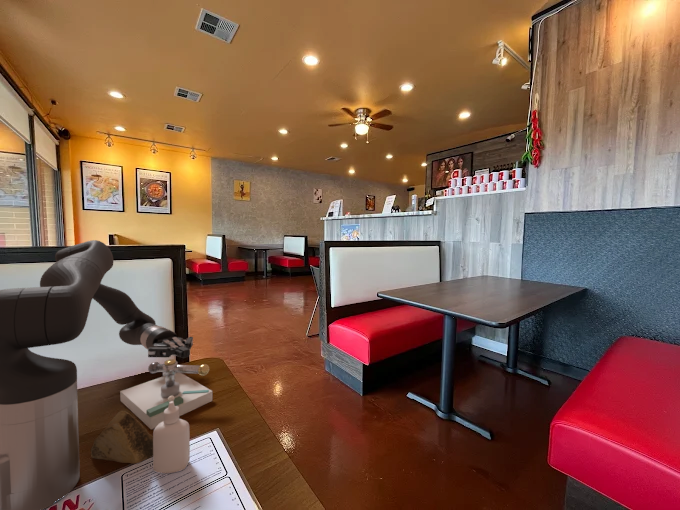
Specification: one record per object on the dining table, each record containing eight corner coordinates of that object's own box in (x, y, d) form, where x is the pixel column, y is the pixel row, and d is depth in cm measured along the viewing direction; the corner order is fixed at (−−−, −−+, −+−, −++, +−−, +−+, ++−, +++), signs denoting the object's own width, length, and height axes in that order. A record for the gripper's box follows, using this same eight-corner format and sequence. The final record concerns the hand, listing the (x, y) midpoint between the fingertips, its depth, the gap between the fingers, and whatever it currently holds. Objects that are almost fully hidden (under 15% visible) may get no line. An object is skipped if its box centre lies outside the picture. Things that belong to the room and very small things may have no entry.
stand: (151, 429, 62) (150, 407, 61) (120, 400, 72) (120, 381, 72) (212, 400, 73) (212, 382, 73) (178, 379, 83) (178, 363, 83)
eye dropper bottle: (172, 453, 55) (172, 392, 54) (193, 463, 53) (193, 399, 52) (149, 470, 51) (148, 404, 50) (171, 481, 49) (170, 412, 48)
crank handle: (145, 387, 70) (144, 363, 69) (154, 380, 73) (153, 357, 73) (205, 389, 69) (205, 365, 69) (211, 383, 72) (211, 360, 72)
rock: (68, 454, 51) (90, 470, 46) (100, 402, 56) (124, 411, 51) (126, 459, 58) (151, 474, 53) (151, 413, 63) (176, 423, 58)
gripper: (134, 333, 84) (160, 347, 74) (180, 323, 95) (209, 334, 84) (134, 358, 84) (160, 376, 74) (180, 345, 95) (209, 359, 85)
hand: (186, 354), depth 79 cm, fingers closed
